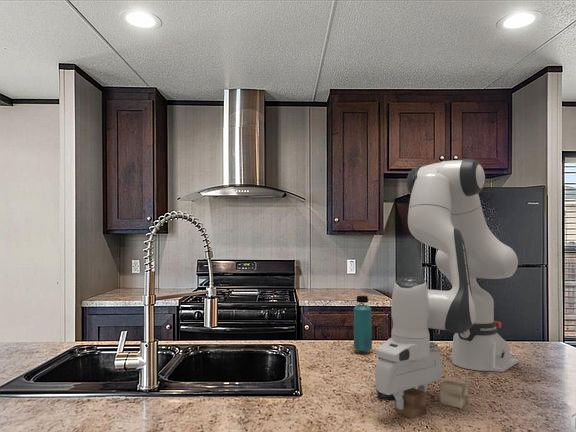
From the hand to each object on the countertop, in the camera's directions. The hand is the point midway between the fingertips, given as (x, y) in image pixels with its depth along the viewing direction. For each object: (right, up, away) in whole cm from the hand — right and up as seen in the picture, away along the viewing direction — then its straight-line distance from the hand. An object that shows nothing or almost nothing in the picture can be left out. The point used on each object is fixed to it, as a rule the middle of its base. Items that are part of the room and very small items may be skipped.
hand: (410, 405), depth 109 cm
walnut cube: (0, -2, 0) cm, 2 cm away
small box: (-2, -2, +13) cm, 14 cm away
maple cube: (+13, -2, +6) cm, 14 cm away
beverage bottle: (-3, -3, +53) cm, 53 cm away
